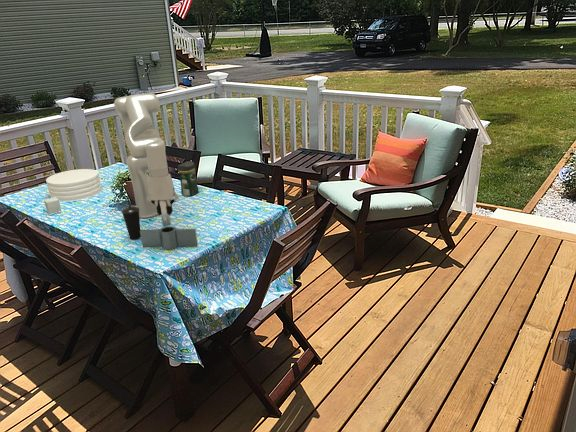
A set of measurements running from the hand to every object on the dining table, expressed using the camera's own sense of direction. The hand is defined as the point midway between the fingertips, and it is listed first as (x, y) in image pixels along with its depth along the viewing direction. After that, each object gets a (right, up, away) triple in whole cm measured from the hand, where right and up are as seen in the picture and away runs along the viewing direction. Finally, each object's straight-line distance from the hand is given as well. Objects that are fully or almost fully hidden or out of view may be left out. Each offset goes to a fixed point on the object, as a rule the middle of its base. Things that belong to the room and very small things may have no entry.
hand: (165, 213), depth 199 cm
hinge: (+1, -14, +6) cm, 15 cm away
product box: (-72, +1, +51) cm, 89 cm away
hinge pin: (0, -4, +2) cm, 5 cm away
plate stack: (-72, +11, +78) cm, 107 cm away
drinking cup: (-18, -11, +16) cm, 27 cm away
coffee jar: (-4, +11, +69) cm, 70 cm away
